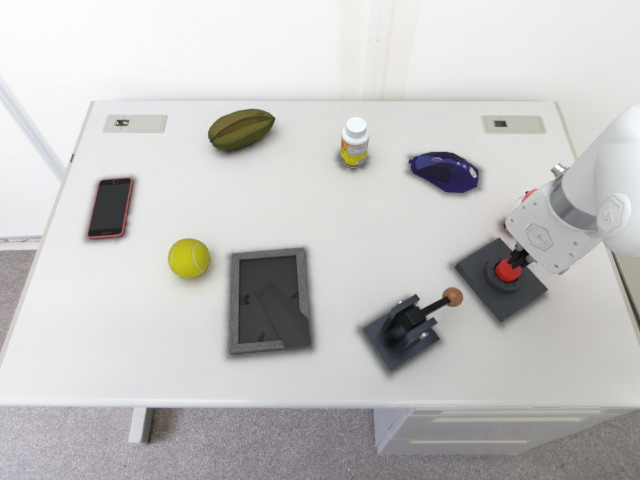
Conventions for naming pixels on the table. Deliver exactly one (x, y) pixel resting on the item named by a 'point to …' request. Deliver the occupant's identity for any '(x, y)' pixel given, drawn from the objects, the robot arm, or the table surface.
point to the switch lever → (430, 309)
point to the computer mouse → (446, 171)
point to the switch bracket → (400, 335)
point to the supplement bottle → (354, 142)
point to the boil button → (507, 271)
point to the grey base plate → (493, 290)
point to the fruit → (240, 129)
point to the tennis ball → (188, 258)
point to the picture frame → (268, 301)
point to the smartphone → (110, 208)
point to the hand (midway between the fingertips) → (516, 261)
